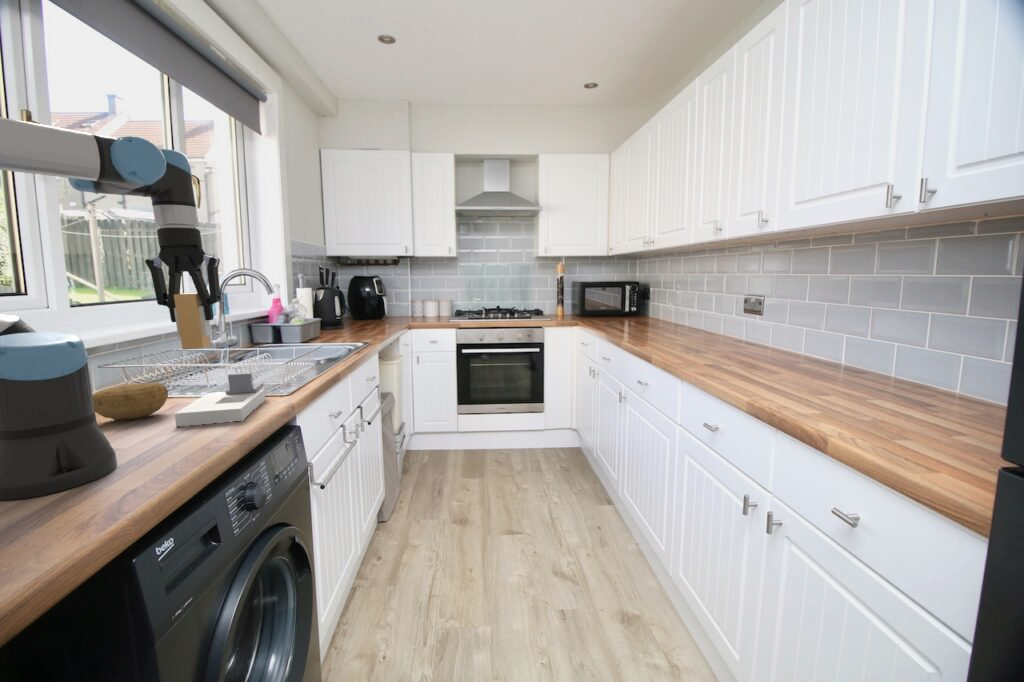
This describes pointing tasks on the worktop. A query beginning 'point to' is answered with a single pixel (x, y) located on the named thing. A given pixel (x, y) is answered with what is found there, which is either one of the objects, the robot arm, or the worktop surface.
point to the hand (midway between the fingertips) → (195, 335)
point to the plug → (190, 321)
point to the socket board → (219, 408)
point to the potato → (130, 400)
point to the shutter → (242, 383)
